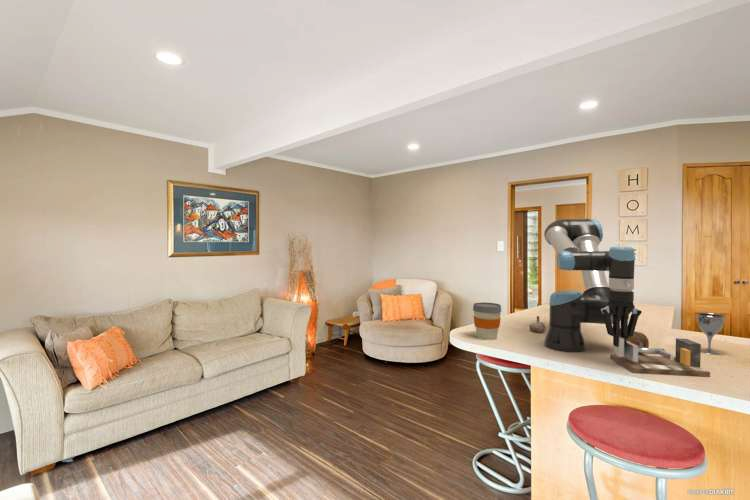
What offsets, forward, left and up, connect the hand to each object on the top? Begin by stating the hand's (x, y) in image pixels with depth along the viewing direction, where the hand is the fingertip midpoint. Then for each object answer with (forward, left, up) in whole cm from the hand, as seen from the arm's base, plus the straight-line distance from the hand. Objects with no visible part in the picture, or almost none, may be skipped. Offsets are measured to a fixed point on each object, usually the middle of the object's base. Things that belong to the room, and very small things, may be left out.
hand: (619, 355), depth 132 cm
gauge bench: (+12, 0, -3) cm, 13 cm away
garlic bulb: (-16, +47, -4) cm, 49 cm away
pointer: (+17, -6, 0) cm, 18 cm away
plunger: (+8, -2, -1) cm, 8 cm away
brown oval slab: (+13, +20, -4) cm, 24 cm away
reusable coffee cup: (-42, +32, -4) cm, 53 cm away
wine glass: (+43, +23, -4) cm, 49 cm away
